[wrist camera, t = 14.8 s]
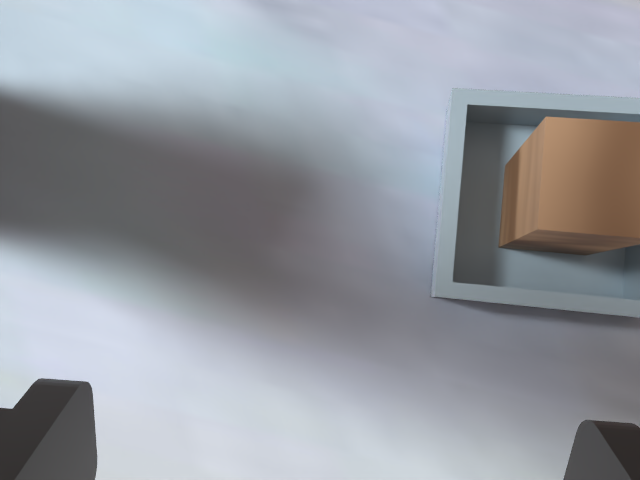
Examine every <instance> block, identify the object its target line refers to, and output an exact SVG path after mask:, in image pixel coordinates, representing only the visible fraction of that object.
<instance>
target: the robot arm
mask: <svg viewBox="0 0 640 480" xmlns="http://www.w3.org/2000/svg"><path fill="white" fill-rule="evenodd" d="M96 469H97V448H96V434H95V420H94V405H93V393H92V388H91V385H90V384H89V383H88V382H83V381H70V380H56V379H43V378H41V379H38V380H37V381H35V382H34V383H33V385H32V386H31V387H30V388H29V389H28V391H27V392H26V393H25V394H24V396H23V397H22V398H21V399H20V400H19V402H18V403H17V404H16V405H15V407H14V408H13V409H7V408H0V480H95V476H96ZM564 480H640V428H639V427H638V426H636V425H635V424H632V423H619V422H606V421H592V420H585V421H583V422H582V423H581V424H580V425H579V427H578V430H577V433H576V436H575V440H574V443H573V447H572V451H571V454H570V458H569V462H568V465H567V469H566V472H565V476H564Z"/></svg>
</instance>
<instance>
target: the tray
mask: <svg viewBox="0 0 640 480" xmlns="http://www.w3.org/2000/svg"><path fill="white" fill-rule="evenodd" d="M545 117H562V118H578V119H595V120H611V121H628V122H640V98H628V97H610V96H591V95H572V94H554V93H535V92H516V91H498V90H479V89H460V88H452V92H451V96H450V100H449V103H448V107H447V113H446V124H445V136H444V147H443V159H442V170H441V182H440V193H439V205H438V216H437V227H436V239H435V250H434V262H433V273H432V285H431V296H432V297H442V298H452V299H462V300H471V301H481V302H491V303H501V304H510V305H520V306H530V307H540V308H549V309H559V310H569V311H579V312H588V313H598V314H608V315H618V316H627V317H637V318H640V244H639V245H634V246H629V247H624V248H619V249H614V250H609V251H605V252H600V253H595V254H590V255H576V254H565V253H554V252H543V251H532V250H521V249H510V248H499V247H498V245H499V233H500V221H501V208H502V196H503V183H504V171H505V165H506V164H507V163H508V161H509V160H510V159H511V158H512V157H513V155H514V154H515V153H516V152H517V151H518V149H519V148H520V147H521V146H522V145H523V143H524V142H525V141H526V140H527V139H528V137H529V136H530V135H531V134H532V133H533V131H534V130H535V129H536V128H537V127H538V125H539V124H540V123H541V122H542V121H543V119H544V118H545Z"/></svg>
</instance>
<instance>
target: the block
mask: <svg viewBox="0 0 640 480" xmlns="http://www.w3.org/2000/svg"><path fill="white" fill-rule="evenodd" d="M639 244H640V122H628V121H611V120H595V119H578V118H562V117H545V118H544V119H543V121H542V122H541V123H540V124H539V125H538V127H537V128H536V129H535V130H534V131H533V133H532V134H531V135H530V136H529V137H528V139H527V140H526V141H525V142H524V143H523V145H522V146H521V147H520V148H519V149H518V151H517V152H516V153H515V154H514V155H513V157H512V158H511V159H510V160H509V161H508V163H507V164H506V165H505V171H504V183H503V196H502V208H501V221H500V233H499V245H498V247H499V248H510V249H521V250H532V251H543V252H554V253H565V254H576V255H590V254H595V253H600V252H605V251H609V250H614V249H619V248H624V247H629V246H634V245H639Z"/></svg>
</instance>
